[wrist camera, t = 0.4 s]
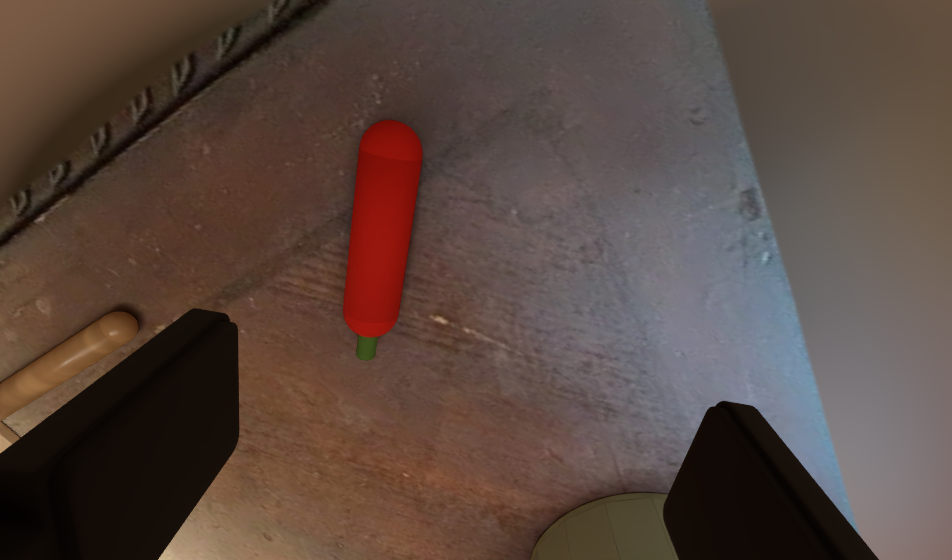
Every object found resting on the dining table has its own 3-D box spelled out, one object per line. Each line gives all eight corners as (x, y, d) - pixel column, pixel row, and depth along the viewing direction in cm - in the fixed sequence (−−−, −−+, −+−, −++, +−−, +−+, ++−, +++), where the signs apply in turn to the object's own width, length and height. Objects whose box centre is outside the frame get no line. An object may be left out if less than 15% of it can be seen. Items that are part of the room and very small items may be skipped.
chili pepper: (371, 112, 22) (354, 116, 19) (430, 124, 22) (422, 130, 19) (347, 338, 27) (331, 365, 24) (396, 347, 27) (386, 375, 24)
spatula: (105, 275, 26) (78, 288, 24) (174, 348, 27) (153, 365, 26) (-117, 426, 30) (-153, 445, 29) (-47, 480, 32) (-77, 502, 30)
